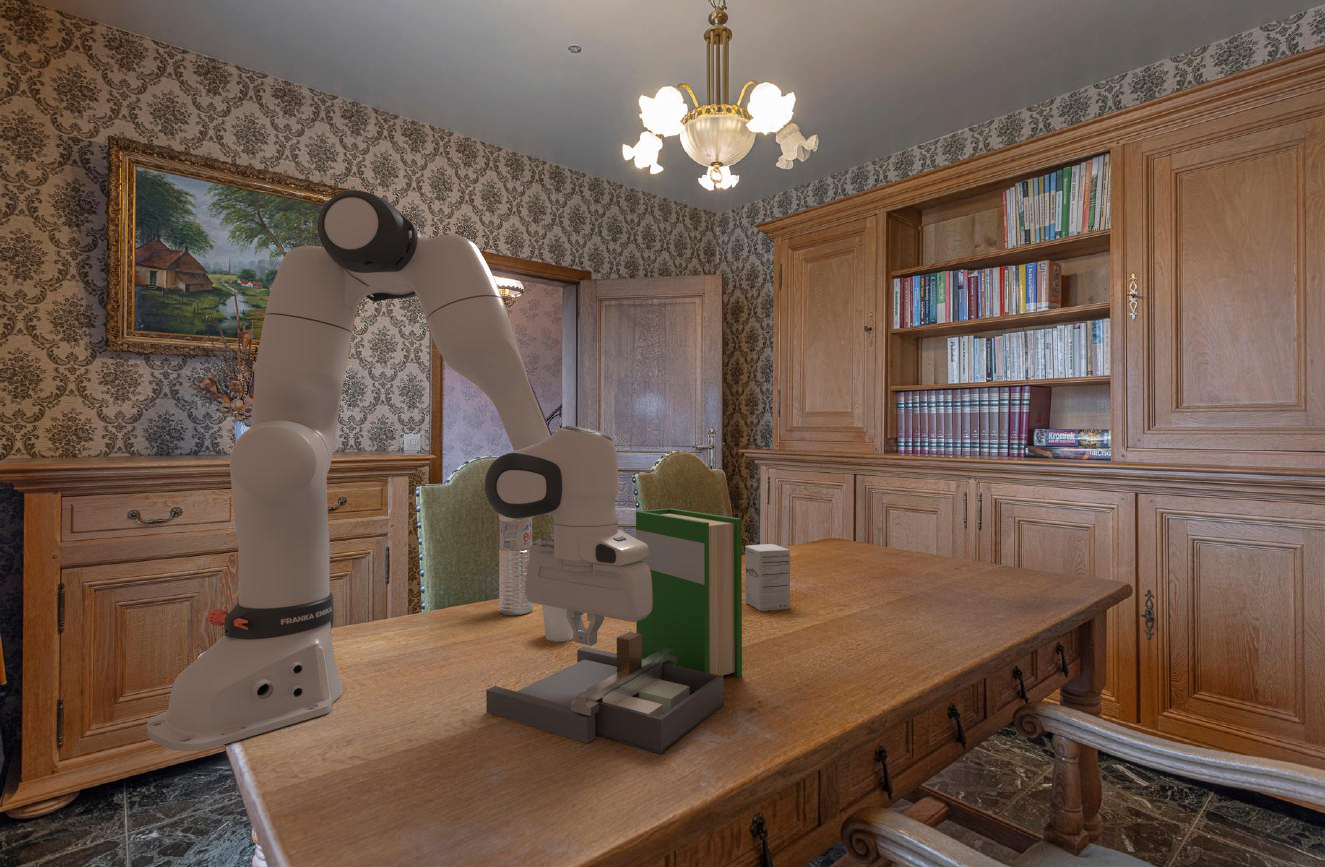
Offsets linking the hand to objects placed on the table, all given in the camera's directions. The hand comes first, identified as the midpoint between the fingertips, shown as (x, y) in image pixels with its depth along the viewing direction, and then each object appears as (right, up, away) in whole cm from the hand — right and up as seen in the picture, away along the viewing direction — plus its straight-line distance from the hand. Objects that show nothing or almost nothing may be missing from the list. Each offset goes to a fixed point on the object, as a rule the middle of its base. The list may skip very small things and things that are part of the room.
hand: (585, 643), depth 91 cm
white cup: (-8, -8, +29) cm, 31 cm away
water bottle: (-20, -8, +46) cm, 50 cm away
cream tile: (+7, -8, -8) cm, 13 cm away
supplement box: (+33, -8, +49) cm, 60 cm away
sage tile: (+11, -8, -2) cm, 13 cm away
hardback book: (+15, -8, +14) cm, 22 cm away
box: (+10, -8, -5) cm, 14 cm away
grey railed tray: (0, -8, +1) cm, 8 cm away
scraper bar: (+6, -6, -3) cm, 9 cm away
